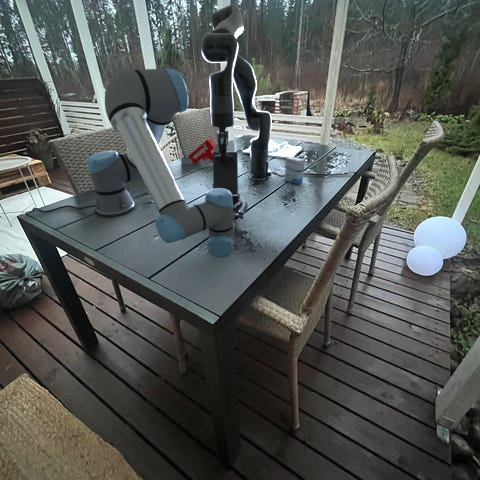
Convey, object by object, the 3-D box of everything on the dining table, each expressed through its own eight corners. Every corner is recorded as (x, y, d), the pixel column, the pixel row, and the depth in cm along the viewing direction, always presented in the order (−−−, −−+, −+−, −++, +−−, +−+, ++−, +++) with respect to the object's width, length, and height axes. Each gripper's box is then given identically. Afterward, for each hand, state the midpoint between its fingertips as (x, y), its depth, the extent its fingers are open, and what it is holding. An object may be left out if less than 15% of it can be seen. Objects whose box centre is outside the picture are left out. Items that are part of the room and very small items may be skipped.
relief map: (291, 159, 177) (291, 151, 174) (243, 153, 190) (243, 145, 187) (302, 149, 197) (303, 142, 194) (258, 144, 211) (258, 137, 208)
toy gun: (225, 158, 166) (210, 137, 162) (223, 160, 163) (207, 139, 159) (205, 174, 176) (191, 154, 172) (202, 176, 173) (188, 156, 169)
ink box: (302, 181, 142) (305, 159, 136) (297, 184, 139) (300, 161, 133) (289, 177, 147) (291, 156, 141) (284, 180, 144) (285, 158, 138)
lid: (213, 152, 103) (210, 148, 95) (237, 152, 103) (237, 148, 95) (213, 194, 106) (211, 194, 98) (237, 194, 106) (237, 194, 98)
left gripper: (191, 233, 93) (200, 205, 112) (255, 233, 93) (253, 205, 112) (189, 214, 89) (198, 188, 108) (256, 213, 89) (253, 187, 108)
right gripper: (212, 107, 94) (215, 157, 103) (208, 113, 82) (211, 169, 91) (234, 107, 94) (235, 157, 103) (233, 113, 82) (234, 169, 91)
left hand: (226, 196), depth 110 cm, fingers closed on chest, 9 cm apart
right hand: (224, 163), depth 97 cm, fingers closed
